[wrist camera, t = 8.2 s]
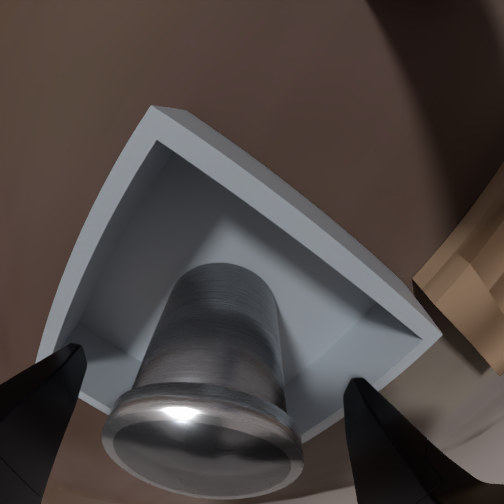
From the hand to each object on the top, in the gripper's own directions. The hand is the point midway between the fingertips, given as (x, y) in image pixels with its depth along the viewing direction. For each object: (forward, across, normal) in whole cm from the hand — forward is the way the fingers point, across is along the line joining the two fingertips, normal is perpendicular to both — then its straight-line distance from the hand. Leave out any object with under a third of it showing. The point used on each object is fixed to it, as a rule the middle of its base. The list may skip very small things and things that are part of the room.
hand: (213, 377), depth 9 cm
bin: (+4, 0, 0) cm, 4 cm away
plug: (+4, 0, 0) cm, 4 cm away
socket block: (+4, -15, -4) cm, 16 cm away
